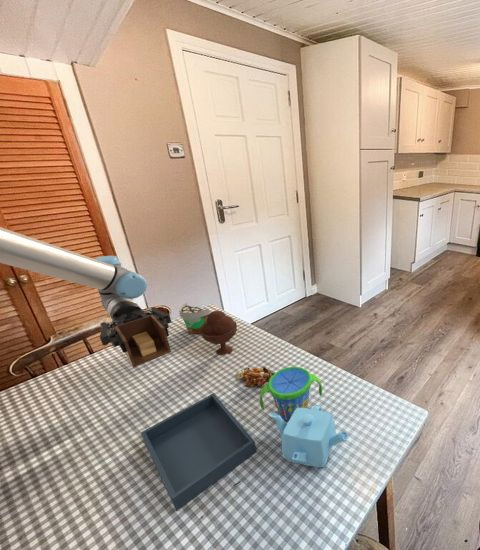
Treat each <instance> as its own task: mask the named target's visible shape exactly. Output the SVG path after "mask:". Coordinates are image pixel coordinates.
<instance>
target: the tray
mask: <svg viewBox="0 0 480 550" xmlns="http://www.w3.org/2000/svg"><path fill="white" fill-rule="evenodd" d="M140 436H141V438H142V440H143V443H144V445H145V447H146V450H147V452H148V454H149V456H150V458H151V461H152V462H153V465H154V467H155V468H156V469H155V470H156V471H157V473H158V476H159V478H160V480H161V481H162V483H163V486H164V488H165V490H166V493H167V495H168V497H169V499H170V500H171V503H172V505H173V507H174V509H175V510H174V511H176V512H178V511H180V510H181V509H182V508H183V507H185V506H186V505H187V504H189V503H190V502H192V501H193V500H194V499H195V498H197V497H198V496H199V495H202V493H204V492H205V491H206V490H208V489H209V488H210V487H212V486H213V485H215V484H216V483H217V482H218V481H220V480H221V479H223V478H224V477H225V476H226V475H228V474H229V473H231V472H232V471H233V470H235V469H236V468H237V467H239V466H240V465H242V464H243V463H244V462H246V461H247V460H248V459H249V458H251V457H252V456H254V455H255V454H256V453H257V446H256V441H255V439H254V438H253V437H252V436H251V434H249V432H248V431H247V430H246V429H245V427H243V425H241V423H240V422H239V421H238V419H237V418H236V417H235V416H234V415H233V413H232V412H231V411H230V410H229V409H228V408H227V407H226V405H225V404H224V402H222V401H221V400H220V398H219V397H218V396H217V395H216V394H215V393H214V392H213V393H211V394H209V395H208V396H206V397H203V398H201V399H200V400H198V401H196V402H195V403H192V404H191V405H189V406H187V407H185V408H184V409H181V410H179V411H177V412H176V413H174V414H172V415H170V416H168V417H167V418H165V419H163V420H161V421H159V422H157V423H155V424H154V425H151V426H150V427H148V428H146V429H145V430H142V431H141V432H140Z"/></svg>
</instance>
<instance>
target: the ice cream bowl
mask: <svg viewBox="0 0 480 550" xmlns="http://www.w3.org/2000/svg"><path fill="white" fill-rule="evenodd" d="M237 330H238V325H237V321H235V320H234V318H232V317H231V316H228V315H227V314H226V313H225V312H224V311H222V310H213V311H211V312H210V314H209V315H208V317H207V323H206V324H205V325H204V326H203V329H201V334H200V336H201V337H202V339H203V340H204V341H206V342H207V343H211V344H212V345H219V346H220V347H219V348H218V349H216V351H215V354H216V355H218V356H224V355H231V354H232V353H233V352H234V349H233V347H232V346H230V345H227V344H226V343H228V342H229V341H231V339H233V338H234V336H236V334H237V332H238V331H237Z"/></svg>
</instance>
